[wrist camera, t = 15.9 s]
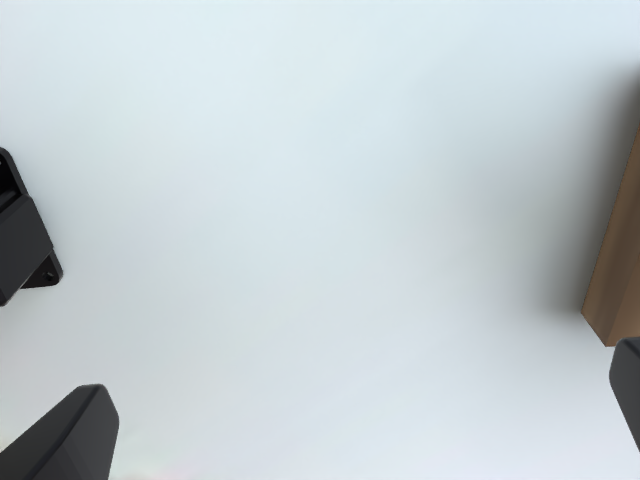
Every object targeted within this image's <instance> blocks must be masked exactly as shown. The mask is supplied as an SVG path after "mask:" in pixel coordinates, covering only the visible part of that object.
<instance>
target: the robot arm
mask: <svg viewBox="0 0 640 480" xmlns="http://www.w3.org/2000/svg"><path fill="white" fill-rule="evenodd" d="M0 161H1V164H0V307H3V306H5V305H6V304H7V303H8V302H9V301H10V300H11V298H12V297H13V296H14V295H15V294H16V293H17V291H18V290H19V289H26V288H36V287H45V286H53V285H56V284H57V283H58V282H59V281H60V280H61V278H62V277H63V270H62V268H61V266H60V264H59V261H58V259H57V257H56V255H55V253H54V250H53V244H52V242H51V240H50V237H49V235H48V233H47V231H46V228H45V226H44V224H43V222H42V219H41V217H40V215H39V213H38V210H37V208H36V206H35V204H34V201H33V199H32V198H31V197H30V196H29V194H28V192H27V190H26V188H25V185H24V183H23V181H22V179H21V176H20V174H19V172H18V170H17V167H16V165H15V163H14V161H13V158H12V156H11V155H10V153H9V152H8V151H6V150H5V149H4V148H1V147H0ZM47 272H49V273H51V274H52V275H53V276H50V275H48V274H47ZM609 380H610V385H611V387H612V390H613V392H614V394H615V397H616V399H617V401H618V404H619V406H620V408H621V411H622V413H623V415H624V417H625V420H626V422H627V424H628V427H629V429H630V431H631V434H632V436H633V438H634V440H635V443H636V445H637V447H638V450H639V452H640V336H639V337H628V338H622V339H620V340H619V341H618V342H617V344H616V347H615V351H614V355H613V359H612V363H611V367H610V371H609ZM118 429H119V416H118V413H117V411H116V408H115V406H114V404H113V402H112V400H111V397H110V395H109V393H108V391H107V389H106V387H105V386H104V385H102V384H90V385H82V386H79V387H77V388H76V389H74V390H73V391H72V392H71V393H70V394H69V395H67V396H66V397H65V398H64V399H63V400H62V401H60V402H59V403H58V404H57V405H56V406H55V407H53V408H52V409H51V410H50V411H49V412H48V413H46V414H45V415H44V416H43V417H42V418H41V419H39V420H38V421H37V422H36V423H35V424H34V425H32V426H31V427H30V428H29V429H28V430H27V431H25V432H24V433H23V434H22V435H21V436H20V437H18V438H17V439H16V440H15V441H14V442H13V443H11V444H10V445H9V446H8V447H7V448H6V449H4V450H3V451H2V452H1V453H0V480H108V477H109V473H110V468H111V463H112V458H113V453H114V448H115V444H116V439H117V434H118Z"/></svg>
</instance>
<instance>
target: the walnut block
mask: <svg viewBox="0 0 640 480" xmlns="http://www.w3.org/2000/svg"><path fill="white" fill-rule="evenodd" d="M581 314H582V315H583V316H584V318H585V319H586V321H587V322H588V323H589V325H590V326H591V327H592V329H593V330H594V332H595V333H596V334H597V336H598V337H599V338H600V340H601V341H602V342H603V344H604V345H605V347H610V346H616V344H617V342H618V341H619V340H620V339H622V338H628V337H639V336H640V123H639V127H638V130H637V133H636V136H635V140H634V143H633V146H632V149H631V152H630V156H629V159H628V162H627V165H626V169H625V172H624V175H623V178H622V181H621V185H620V188H619V191H618V194H617V197H616V201H615V204H614V207H613V210H612V214H611V217H610V220H609V223H608V226H607V230H606V233H605V236H604V239H603V243H602V246H601V249H600V252H599V255H598V259H597V262H596V265H595V268H594V271H593V275H592V278H591V281H590V284H589V288H588V291H587V294H586V297H585V300H584V304H583V307H582V310H581Z"/></svg>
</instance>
